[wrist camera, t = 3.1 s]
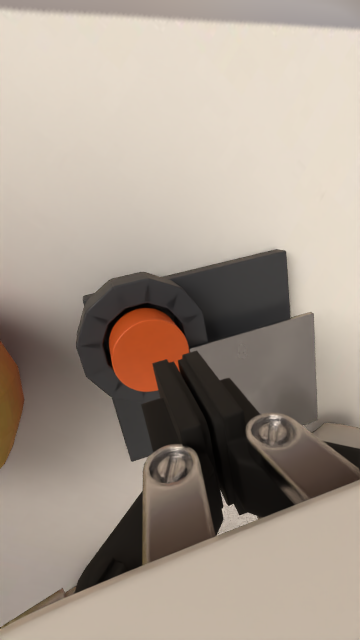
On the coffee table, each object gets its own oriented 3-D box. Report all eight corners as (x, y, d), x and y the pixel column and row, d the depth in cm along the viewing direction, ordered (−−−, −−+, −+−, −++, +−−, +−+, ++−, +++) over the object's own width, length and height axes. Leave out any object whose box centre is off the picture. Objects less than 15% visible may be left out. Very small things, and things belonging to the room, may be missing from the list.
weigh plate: (208, 456, 20) (210, 459, 19) (187, 347, 17) (189, 349, 17) (314, 417, 21) (318, 420, 21) (310, 311, 18) (313, 313, 18)
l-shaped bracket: (118, 455, 21) (123, 491, 19) (64, 285, 17) (60, 299, 15) (288, 397, 24) (315, 421, 21) (276, 236, 20) (307, 239, 17)
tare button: (118, 381, 17) (122, 401, 15) (100, 317, 16) (102, 331, 14) (183, 361, 18) (194, 379, 16) (171, 299, 16) (182, 310, 15)
